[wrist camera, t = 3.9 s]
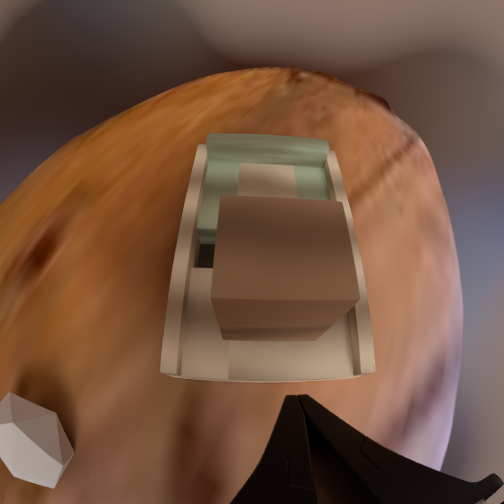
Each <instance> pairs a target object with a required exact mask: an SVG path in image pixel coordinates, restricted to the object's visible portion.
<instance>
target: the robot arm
mask: <svg viewBox="0 0 504 504" xmlns="http://www.w3.org/2000/svg"><path fill="white" fill-rule="evenodd" d="M503 484H504V483H503V481H502V480H501V478H500V477H498V476H497V475H496V474H494V473H493V474H490V475H489V476H487V477H486V478H484V479H483V480H481V481H479V482H467V481H464V480H461V479H458V478H456V477H453V476H450V475H447V474H445V473H442V472H439V471H437V470H434V469H432V468H429V467H427V466H425V465H422V464H420V463H417V462H415V461H413V460H411V459H408V458H406V457H404V456H402V455H399V454H397V453H395V452H393V451H391V450H389V449H387V448H385V447H383V446H382V445H380V444H378V443H377V442H375V441H373V440H372V439H370V438H369V437H367V436H365V435H364V434H362V433H361V432H359V431H358V430H356V429H355V428H353V427H352V426H350V425H349V424H347V423H346V422H345V421H343V420H342V419H340V418H339V417H337V416H336V415H335V414H333V413H332V412H330V411H329V410H328V409H326V408H325V407H324V406H322V405H321V404H319V403H318V402H317V401H315V400H314V399H313V398H311V397H310V396H309V395H307V394H302V395H297V396H296V395H286V396H285V398H284V401H283V404H282V407H281V410H280V412H279V415H278V418H277V420H276V423H275V426H274V428H273V431H272V434H271V436H270V439H269V441H268V444H267V446H266V448H265V451H264V453H263V455H262V457H261V459H260V462H259V463H258V465H257V467H256V468H255V470H254V471H253V473H252V474H251V476H250V477H249V479H248V480H247V481H246V483H245V484H244V485H243V487H242V488H241V489H240V491H239V492H238V493H237V495H236V496H235V497H234V499H233V500H232V501H231V503H230V504H487V503H486V500H487V499H488V498H489V497H490V496H492V495H493V494H494V493H495V492H496V491H497V490H498V489H499V488H500V487H501V486H502V485H503ZM501 504H504V501H503V502H502V503H501Z"/></svg>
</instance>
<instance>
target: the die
mask: <svg viewBox="0 0 504 504" xmlns="http://www.w3.org/2000/svg"><path fill="white" fill-rule="evenodd" d="M74 453H75V452H74V450H73V448H72V446H71V444H70V442H69V440H68V438H67V436H66V434H65V432H64V430H63V427H62V425H61V423H60V421H59V418H58V416H57V414H56V413H55V412H53V411H50V410H48V409H46V408H43V407H41V406H39V405H36V404H34V403H32V402H30V401H28V400H25V399H23V398H21V397H19V396H17V395H15V394H13V393H11V392H9V393H8V394H7V395H6V396H5V398H4V399H3V400H2V401H1V402H0V457H1V459H2V460H3V462H4V463H5V465H6V466H7V468H8V469H9V470H10V472H11V473H12V475H13V476H15V477H17V478H20V479H23V480H26V481H29V482H32V483H36V484H39V485H42V486H46V487H50V488H55V486H56V484H57V482H58V481H59V479H60V477H61V475H62V474H63V472H64V470H65V469H66V467H67V465H68V463H69V462H70V460H71V458H72V457H73V455H74Z"/></svg>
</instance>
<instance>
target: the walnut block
mask: <svg viewBox="0 0 504 504" xmlns="http://www.w3.org/2000/svg"><path fill="white" fill-rule="evenodd" d="M359 300H360V293H359V286H358V280H357V274H356V268H355V262H354V256H353V251H352V245H351V240H350V235H349V230H348V225H347V221H346V216H345V212H344V207H343V203H342V202H340V201H327V200H313V199H297V198H279V197H255V196H220V205H219V214H218V223H217V232H216V242H215V252H214V263H213V274H212V286H211V301H212V305H213V308H214V312H215V315H216V318H217V322H218V325H219V328H220V332H221V335H222V338H223V340H233V341H316V340H317V339H318V338H319V337H320V336H321V335H322V334H324V333H325V332H326V331H327V330H328V329H329V328H330V327H332V326H333V325H334V324H335V323H336V322H337V321H338V320H339V319H340V318H341V317H342V316H344V315H345V314H346V313H347V312H348V311H349V310H350V309H351V308H352V307H353V306H354V305H355V304H356V303H357V302H358V301H359Z"/></svg>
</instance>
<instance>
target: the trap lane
mask: <svg viewBox="0 0 504 504" xmlns="http://www.w3.org/2000/svg"><path fill="white" fill-rule="evenodd" d="M329 149H330V148H329V144H328V141H327V140H323V139H314V138H304V137H293V136H279V135H261V134H208V136H207V140H206V144H198V148H197V152H196V156H195V160H194V164H193V168H192V172H191V177H190V181H189V185H188V190H187V194H186V199H185V204H184V209H183V213H182V218H181V223H180V229H179V234H178V239H177V245H176V250H175V256H174V262H173V268H172V275H171V281H170V288H169V295H168V302H167V309H166V317H165V325H164V334H163V343H162V353H161V364H160V372H161V373H164V374H166V375H169V376H172V377H175V378H185V379H195V380H208V381H225V382H257V383H275V382H308V381H324V380H337V379H347V378H355V377H359V376H362V375H366V374H369V373H373V372H375V359H374V347H373V337H372V328H371V320H370V312H369V305H368V298H367V291H366V285H365V279H364V273H363V267H362V262H361V257H360V252H359V247H358V242H357V237H356V232H355V228H354V223H353V219H352V215H351V210H350V206H349V202H348V198H347V194H346V190H345V187H344V183H343V179H342V176H341V172H340V169H339V165H338V162H337V158H336V155H335V152H334V151H329ZM220 196H255V197H279V198H297V199H313V200H327V201H340V202H342V203H343V207H344V212H345V216H346V221H347V225H348V230H349V235H350V240H351V245H352V251H353V256H354V262H355V268H356V274H357V280H358V286H359V293H360V300H359V301H358V302H357V303H356V304H355V305H354V306H353V307H352V308H351V309H350V310H349V311H348V312H347V313H346V314H345V315H344V316H342V317H341V318H340V319H339V320H338V321H337V322H336V323H335V324H334V325H333V326H332V327H330V328H329V329H328V330H327V331H326V332H325V333H324V334H322V335H321V336H320V337H319V338H318V339H317V340H316V341H233V340H223V338H222V335H221V332H220V328H219V325H218V322H217V318H216V315H215V312H214V308H213V305H212V301H211V286H212V274H213V263H214V252H215V242H216V232H217V223H218V214H219V205H220Z"/></svg>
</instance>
